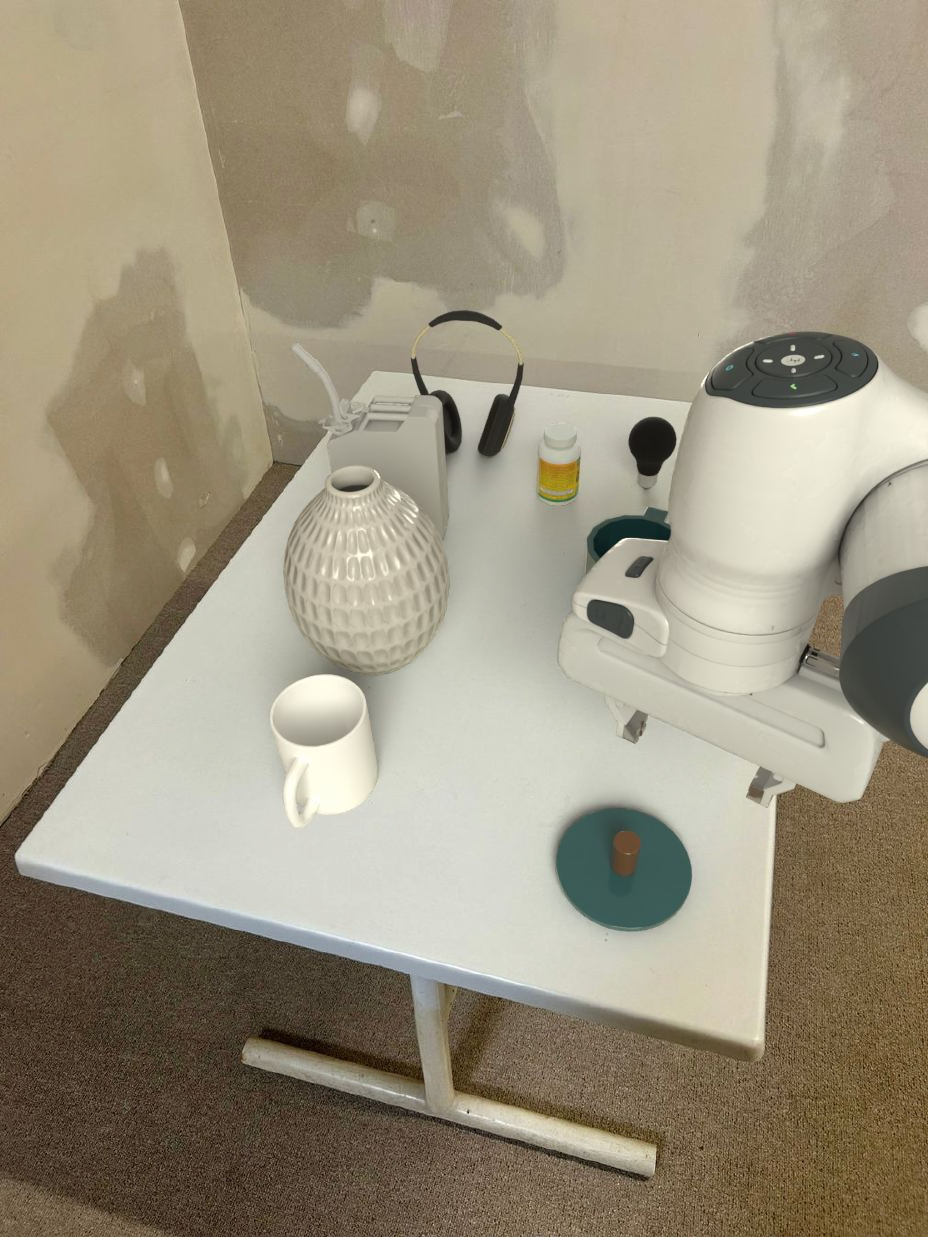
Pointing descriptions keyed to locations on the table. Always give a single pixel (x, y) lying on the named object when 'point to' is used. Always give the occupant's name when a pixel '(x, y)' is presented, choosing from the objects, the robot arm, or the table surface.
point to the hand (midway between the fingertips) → (693, 763)
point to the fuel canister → (391, 442)
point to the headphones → (501, 406)
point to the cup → (323, 746)
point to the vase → (366, 573)
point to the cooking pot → (625, 533)
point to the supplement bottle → (558, 465)
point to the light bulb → (651, 447)
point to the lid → (623, 869)
